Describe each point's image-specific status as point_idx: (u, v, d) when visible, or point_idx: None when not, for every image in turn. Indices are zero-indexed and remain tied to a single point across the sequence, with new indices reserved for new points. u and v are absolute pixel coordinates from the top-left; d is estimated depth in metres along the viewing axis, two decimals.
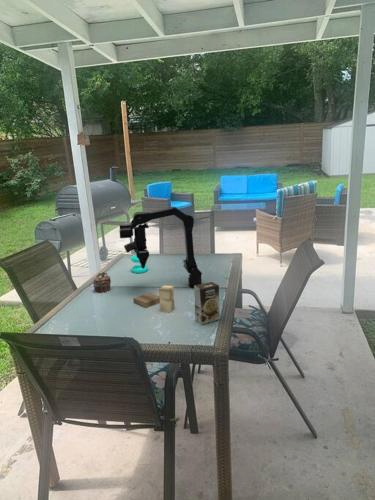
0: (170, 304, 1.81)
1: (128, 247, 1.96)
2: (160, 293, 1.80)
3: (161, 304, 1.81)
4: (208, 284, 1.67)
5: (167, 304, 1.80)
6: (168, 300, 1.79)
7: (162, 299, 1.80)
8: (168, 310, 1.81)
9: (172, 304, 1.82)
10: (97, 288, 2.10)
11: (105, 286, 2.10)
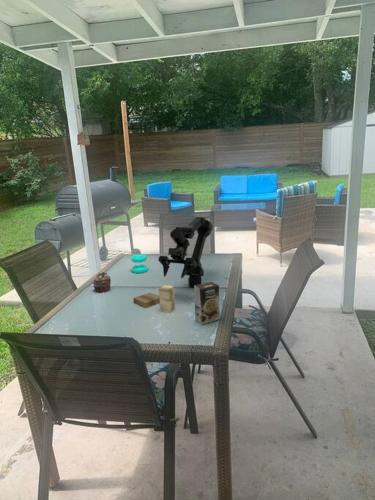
0: (170, 304, 1.81)
1: (182, 250, 1.86)
2: (160, 293, 1.80)
3: (161, 304, 1.81)
4: (208, 284, 1.67)
5: (167, 304, 1.80)
6: (168, 300, 1.79)
7: (162, 299, 1.80)
8: (168, 310, 1.81)
9: (172, 304, 1.82)
10: (97, 288, 2.10)
11: (105, 286, 2.10)
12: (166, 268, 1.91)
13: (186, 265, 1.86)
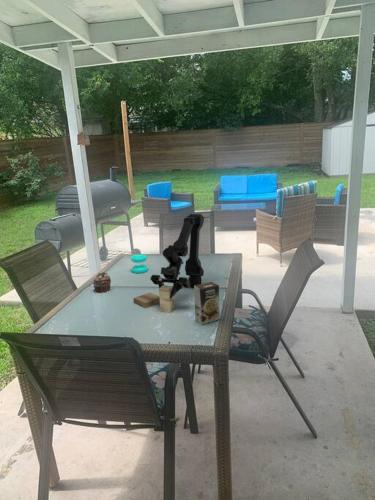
0: (170, 304, 1.81)
1: (175, 269, 1.79)
2: (160, 293, 1.80)
3: (161, 304, 1.81)
4: (208, 284, 1.67)
5: (167, 304, 1.80)
6: (168, 300, 1.79)
7: (162, 299, 1.80)
8: (168, 310, 1.81)
9: (172, 304, 1.82)
10: (97, 288, 2.10)
11: (105, 286, 2.10)
12: None
13: (175, 285, 1.80)
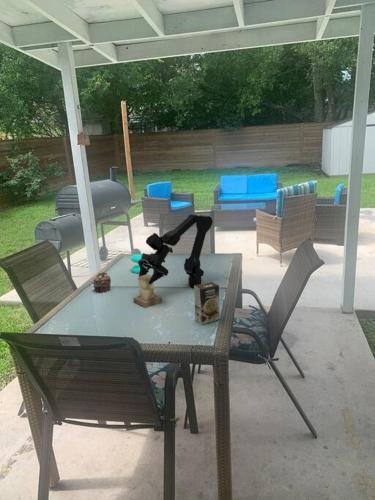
0: (147, 293, 1.89)
1: (153, 256, 1.86)
2: (139, 281, 1.90)
3: (140, 292, 1.92)
4: (208, 284, 1.67)
5: (144, 292, 1.89)
6: (144, 288, 1.88)
7: (140, 287, 1.91)
8: (145, 298, 1.90)
9: (150, 293, 1.91)
10: (97, 288, 2.10)
11: (105, 286, 2.10)
12: (143, 272, 1.94)
13: (155, 272, 1.86)
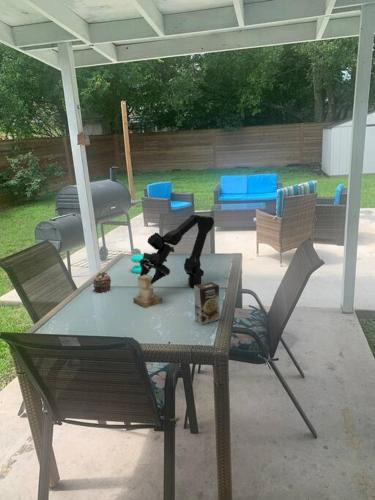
0: (147, 293, 1.89)
1: (154, 256, 1.87)
2: (138, 281, 1.90)
3: (140, 292, 1.92)
4: (208, 284, 1.67)
5: (144, 293, 1.89)
6: (144, 289, 1.88)
7: (140, 287, 1.91)
8: (144, 298, 1.90)
9: (150, 293, 1.91)
10: (97, 288, 2.10)
11: (105, 286, 2.10)
12: (144, 272, 1.95)
13: (156, 271, 1.86)
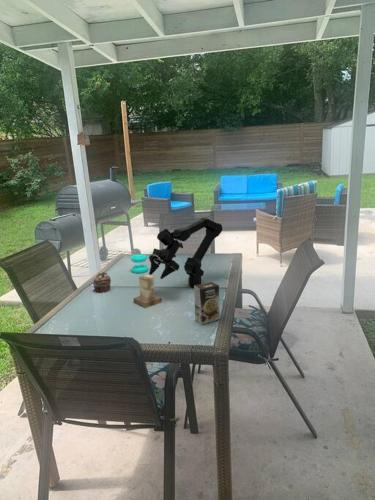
0: (148, 293, 1.89)
1: (164, 251, 1.90)
2: (140, 281, 1.90)
3: (140, 291, 1.91)
4: (208, 284, 1.67)
5: (145, 292, 1.89)
6: (145, 289, 1.88)
7: (141, 287, 1.90)
8: (145, 298, 1.90)
9: (151, 293, 1.91)
10: (97, 288, 2.10)
11: (105, 286, 2.10)
12: (153, 267, 1.99)
13: (166, 267, 1.90)
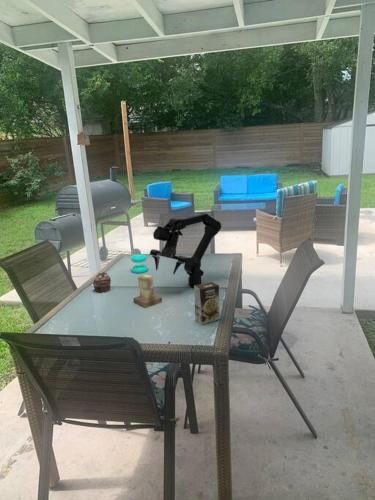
0: (148, 293, 1.89)
1: (175, 252, 1.93)
2: (139, 281, 1.90)
3: (140, 292, 1.91)
4: (208, 284, 1.67)
5: (145, 293, 1.89)
6: (145, 289, 1.88)
7: (140, 287, 1.90)
8: (145, 298, 1.90)
9: (151, 293, 1.91)
10: (97, 288, 2.10)
11: (105, 286, 2.10)
12: (158, 262, 2.01)
13: (178, 264, 1.97)
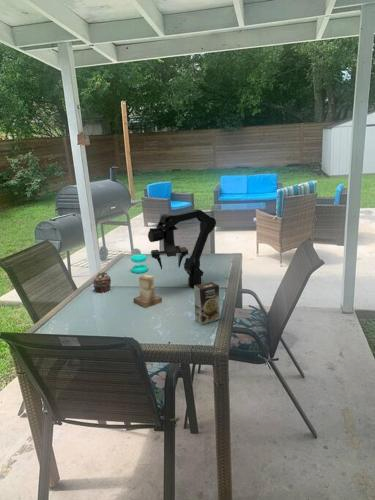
0: (149, 293, 1.89)
1: (179, 248, 1.95)
2: (140, 281, 1.89)
3: (141, 292, 1.91)
4: (208, 284, 1.67)
5: (146, 293, 1.89)
6: (146, 289, 1.88)
7: (141, 287, 1.90)
8: (146, 298, 1.90)
9: (151, 293, 1.91)
10: (97, 288, 2.10)
11: (105, 286, 2.10)
12: (160, 261, 2.01)
13: (182, 257, 2.01)
